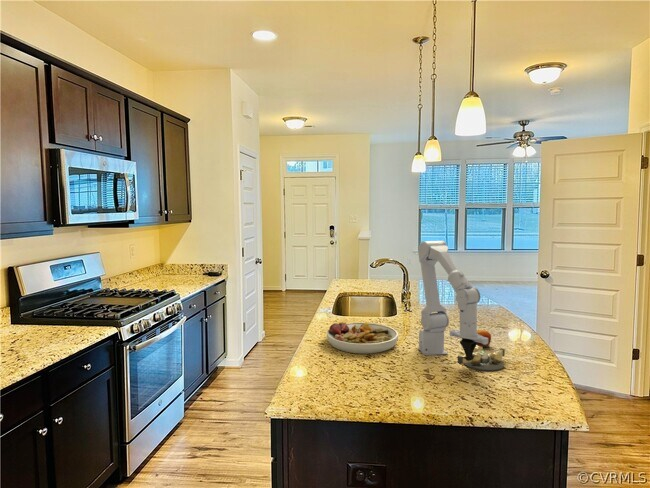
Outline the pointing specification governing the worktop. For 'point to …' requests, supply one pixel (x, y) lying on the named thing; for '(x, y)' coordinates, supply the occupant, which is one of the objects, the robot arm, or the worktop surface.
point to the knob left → (475, 360)
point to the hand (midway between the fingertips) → (468, 359)
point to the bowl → (362, 337)
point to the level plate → (485, 363)
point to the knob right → (497, 356)
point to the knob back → (478, 348)
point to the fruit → (484, 334)
